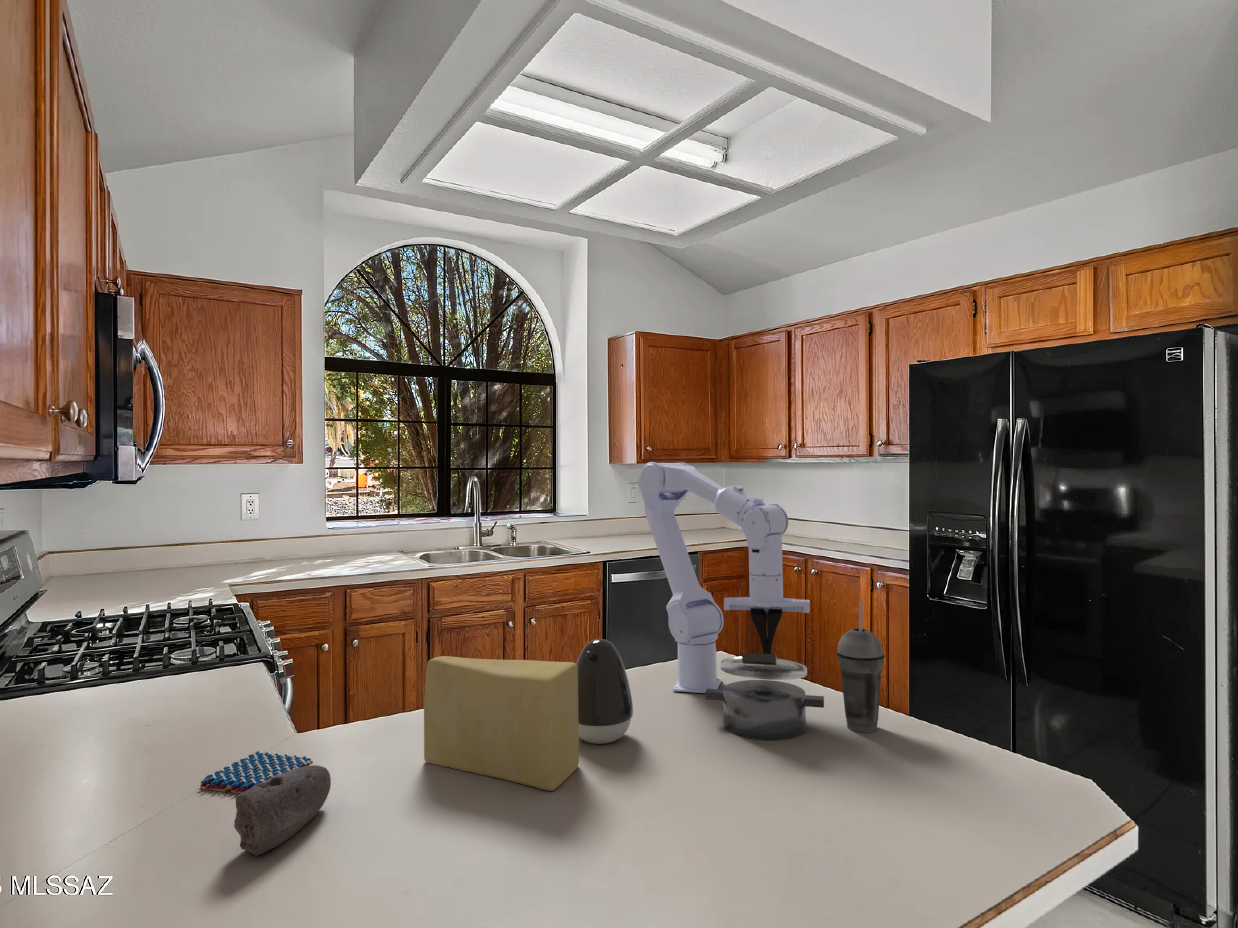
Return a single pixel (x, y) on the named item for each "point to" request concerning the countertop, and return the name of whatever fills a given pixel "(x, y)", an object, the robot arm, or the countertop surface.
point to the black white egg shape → (602, 693)
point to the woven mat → (252, 771)
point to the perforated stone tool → (280, 807)
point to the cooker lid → (763, 667)
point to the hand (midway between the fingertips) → (767, 652)
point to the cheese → (503, 718)
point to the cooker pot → (764, 708)
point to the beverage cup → (861, 677)
